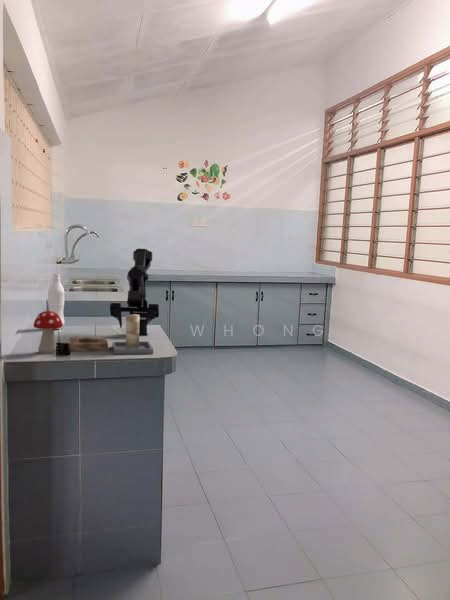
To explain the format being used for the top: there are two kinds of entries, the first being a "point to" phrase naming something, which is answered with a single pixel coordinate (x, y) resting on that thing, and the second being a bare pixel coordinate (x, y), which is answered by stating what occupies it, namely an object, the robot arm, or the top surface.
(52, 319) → the decorative mushroom
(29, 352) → the top surface
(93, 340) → the holder
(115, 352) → the tray
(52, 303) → the water bottle
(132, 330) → the dowel
